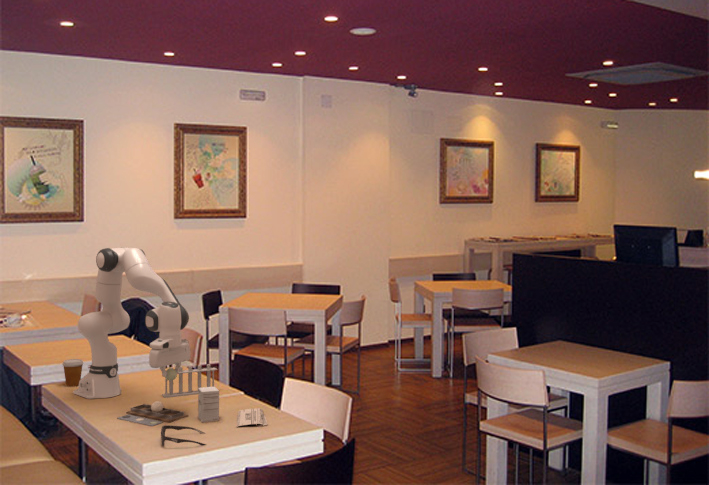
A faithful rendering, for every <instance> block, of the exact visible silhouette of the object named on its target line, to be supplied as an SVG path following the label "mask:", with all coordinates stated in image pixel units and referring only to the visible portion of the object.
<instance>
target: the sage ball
mask: <svg viewBox="0 0 709 485" xmlns="http://www.w3.org/2000/svg"><path fill="white" fill-rule="evenodd" d="M169 368H170V369H169ZM169 368H168V369H167V368H166V369H165V370H166V372H168V376H166V377H164V378H166V379H167V381H168V382H169V381H172V380H173V381H175V379H176V378H177V376H178V374H177V372H176V370H175V368H173V367H169ZM172 368H173V369H172Z"/></svg>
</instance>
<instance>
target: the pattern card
mask: <svg viewBox="0 0 709 485" xmlns="http://www.w3.org/2000/svg"><path fill="white" fill-rule="evenodd" d="M117 419H118V420H122V421H127V422H131V423H134V424H135V423H136V424H139V425H145V426H148V427H154V426H157V425H160V424H164V422H162V421H158V420H153V419H149V418H144V417H139V416H135V415H130V414H124V415H122V416H119V417H116V420H117Z"/></svg>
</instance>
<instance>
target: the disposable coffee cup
mask: <svg viewBox="0 0 709 485" xmlns="http://www.w3.org/2000/svg"><path fill="white" fill-rule="evenodd" d="M62 362H63V363H62V367H63V373H64V379H65V386H66V387H68V388H69V387H70V388H71V387H79V381H80V380H81V379H82V372H83V365H84V360H83V359H82V358H81V359H80V358H69V359H65V360H63V361H62Z"/></svg>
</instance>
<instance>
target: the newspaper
mask: <svg viewBox="0 0 709 485" xmlns="http://www.w3.org/2000/svg"><path fill="white" fill-rule="evenodd" d="M263 412H264V410H263V408H259V407H258V408H246V409H240V410H238V411H237V419H236V428H239V427H243V426H248V425H255V426H256V424H257V426H256V428H257V427H258V428H261V427H264V426H268V421H267V418H266V415H265V414H264V413H263Z"/></svg>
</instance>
